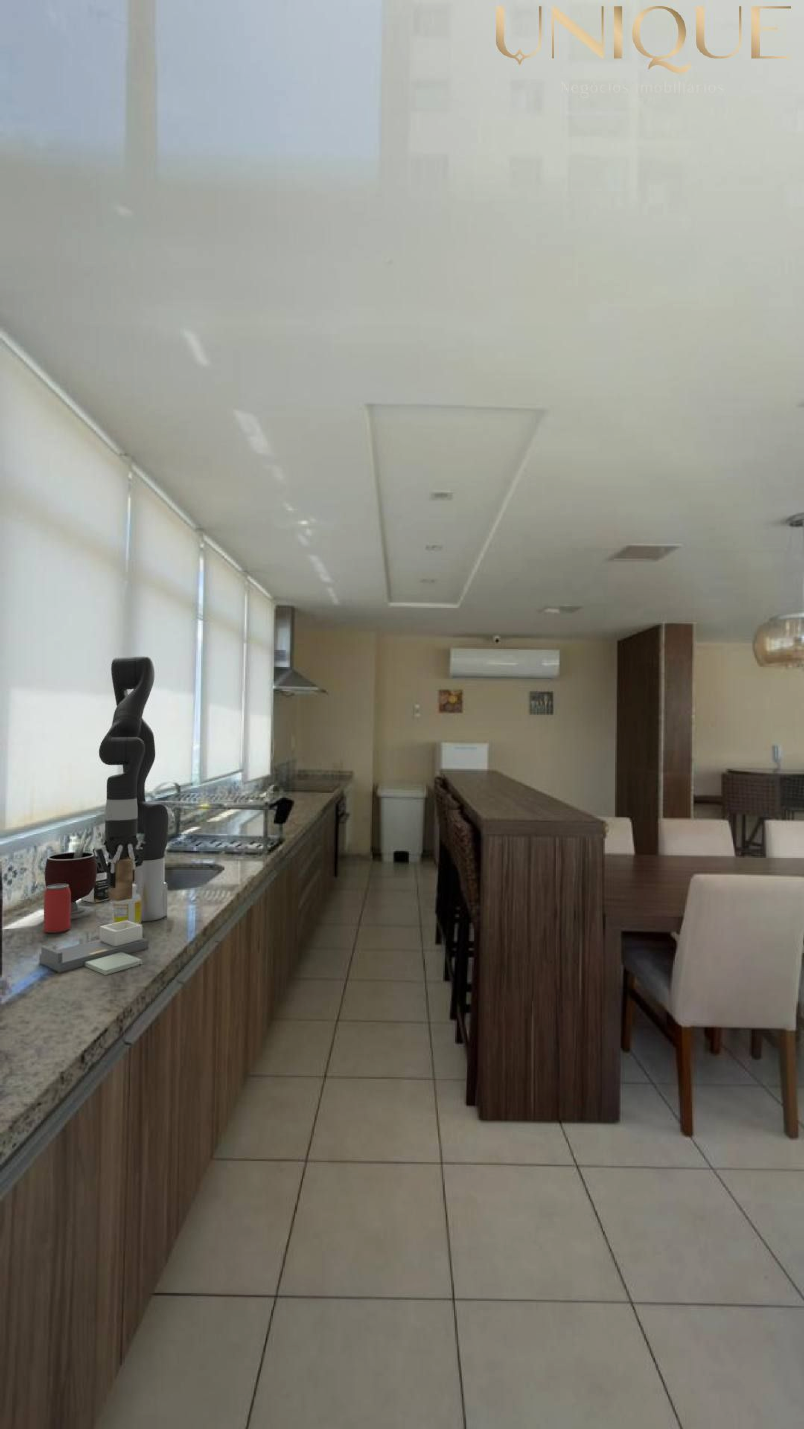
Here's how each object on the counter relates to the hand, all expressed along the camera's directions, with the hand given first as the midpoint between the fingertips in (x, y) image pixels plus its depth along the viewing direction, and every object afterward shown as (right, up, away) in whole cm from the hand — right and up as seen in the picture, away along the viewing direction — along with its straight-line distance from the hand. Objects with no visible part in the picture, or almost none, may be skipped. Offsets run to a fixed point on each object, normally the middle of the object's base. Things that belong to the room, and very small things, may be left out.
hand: (120, 885), depth 173 cm
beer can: (-23, -16, +15) cm, 32 cm away
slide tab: (0, -13, 0) cm, 13 cm away
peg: (0, -3, 0) cm, 3 cm away
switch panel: (-4, -15, -5) cm, 17 cm away
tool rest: (+3, -15, -12) cm, 20 cm away
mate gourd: (-27, -16, +32) cm, 46 cm away
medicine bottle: (-27, -17, +49) cm, 58 cm away
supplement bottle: (-3, -16, +12) cm, 20 cm away
